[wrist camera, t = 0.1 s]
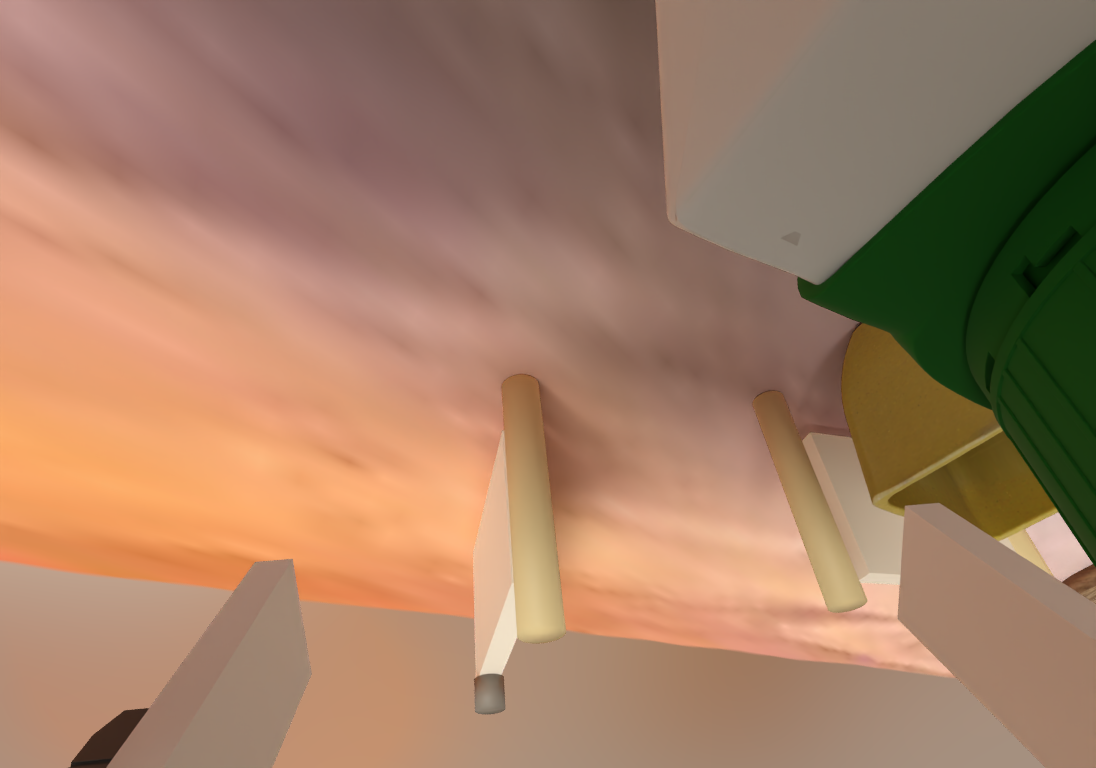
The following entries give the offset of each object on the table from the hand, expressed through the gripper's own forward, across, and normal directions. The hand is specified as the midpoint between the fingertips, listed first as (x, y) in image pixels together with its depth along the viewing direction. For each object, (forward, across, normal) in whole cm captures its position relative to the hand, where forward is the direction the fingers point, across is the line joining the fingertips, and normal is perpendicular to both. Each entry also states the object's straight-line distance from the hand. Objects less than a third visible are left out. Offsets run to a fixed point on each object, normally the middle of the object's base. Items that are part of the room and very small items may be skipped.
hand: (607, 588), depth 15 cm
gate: (+23, -3, -7) cm, 24 cm away
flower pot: (+17, +18, +3) cm, 25 cm away
